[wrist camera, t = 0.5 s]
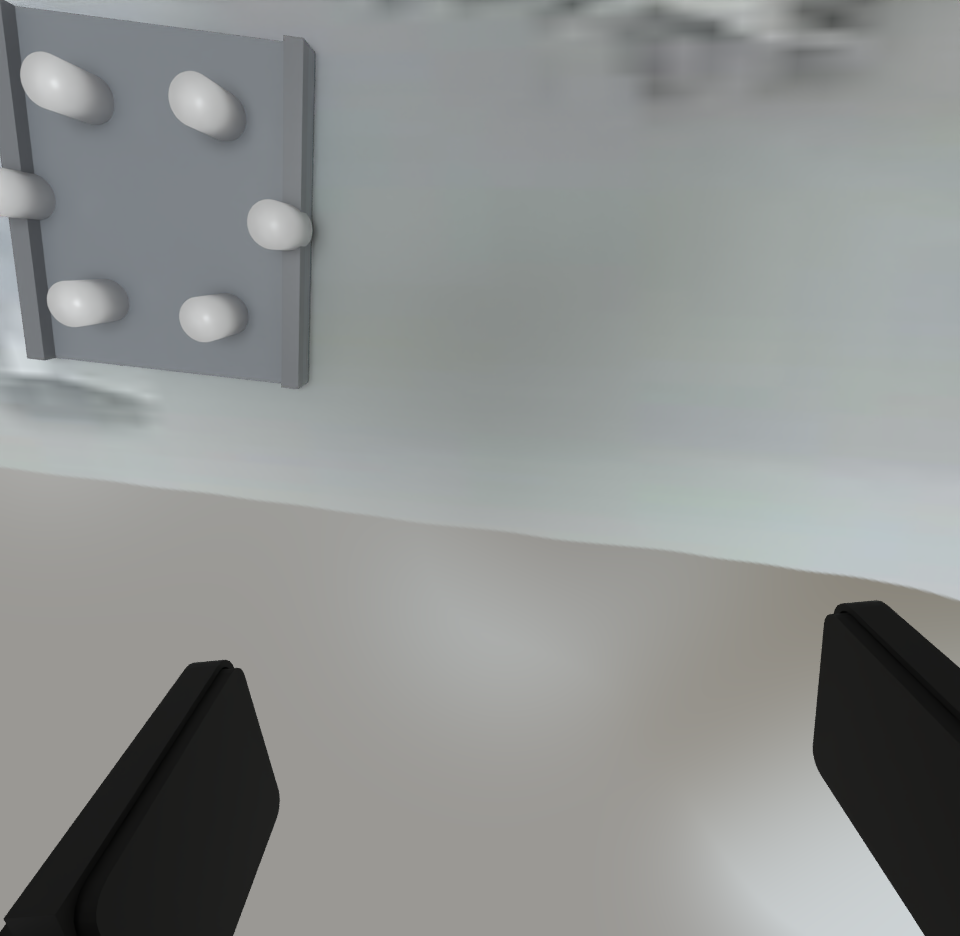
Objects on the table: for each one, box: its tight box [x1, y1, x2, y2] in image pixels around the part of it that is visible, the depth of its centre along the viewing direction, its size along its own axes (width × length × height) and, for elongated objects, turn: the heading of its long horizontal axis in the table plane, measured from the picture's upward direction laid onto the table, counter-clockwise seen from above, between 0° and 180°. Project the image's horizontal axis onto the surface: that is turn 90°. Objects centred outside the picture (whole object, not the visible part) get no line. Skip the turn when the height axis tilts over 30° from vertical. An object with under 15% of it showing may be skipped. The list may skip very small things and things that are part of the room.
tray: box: [0, 0, 315, 389], centre depth 33 cm, size 18×17×5 cm
